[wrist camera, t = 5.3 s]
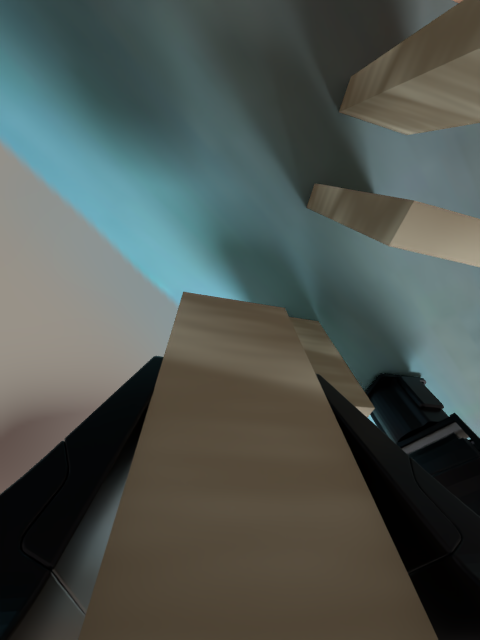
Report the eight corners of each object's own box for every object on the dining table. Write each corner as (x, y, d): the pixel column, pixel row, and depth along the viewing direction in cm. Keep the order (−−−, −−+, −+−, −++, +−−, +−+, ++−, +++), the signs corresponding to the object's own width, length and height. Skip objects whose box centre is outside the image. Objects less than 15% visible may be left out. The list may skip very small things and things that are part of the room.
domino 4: (365, 222, 18) (489, 269, 10) (306, 207, 17) (389, 245, 9) (376, 199, 17) (521, 231, 9) (314, 183, 16) (413, 200, 8)
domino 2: (312, 334, 24) (362, 423, 16) (266, 327, 23) (293, 418, 15) (318, 321, 23) (374, 408, 15) (270, 314, 22) (302, 402, 14)
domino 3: (406, 134, 15) (631, 97, 7) (338, 111, 14) (503, 37, 6) (422, 103, 15) (697, 17, 6) (350, 76, 14) (561, -67, 5)
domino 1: (275, 333, 13) (387, 666, 4) (180, 320, 12) (78, 706, 3) (284, 307, 12) (447, 659, 3) (183, 291, 11) (56, 711, 2)
